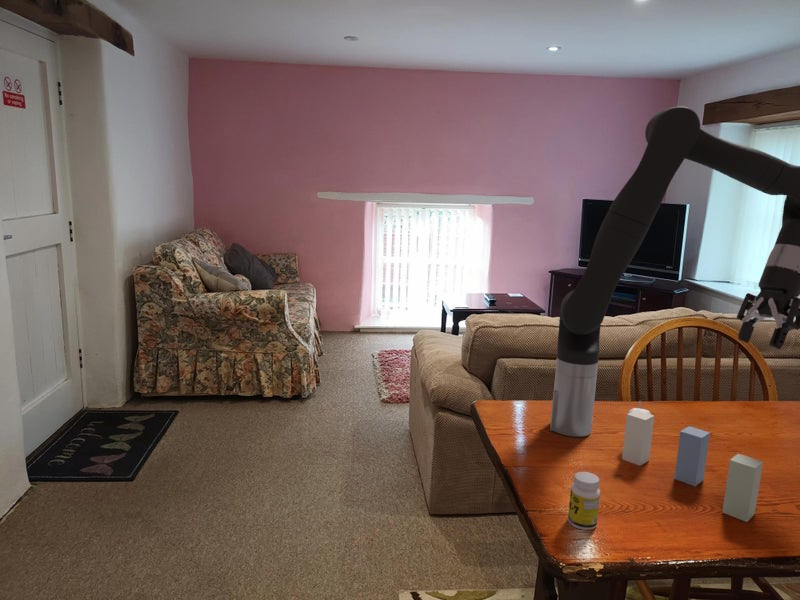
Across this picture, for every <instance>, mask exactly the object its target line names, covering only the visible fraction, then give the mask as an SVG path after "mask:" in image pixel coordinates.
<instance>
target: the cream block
mask: <svg viewBox="0 0 800 600" xmlns="http://www.w3.org/2000/svg"><path fill="white" fill-rule="evenodd" d="M654 422H655V415H654V414H648V413H644V412H641V411H638V410H635V411H633V412H631V413H629V412H628V413H627V414H626V419H625V427H624V428H625V429H624V437H623V448H622V454H621V460H623V461H626V462H629V463H631V464H634V465H637V466H639V467H641V466H642V465H644V464H646V463H647V462H649V461H650V456H651V448H652V446H651V445H652V439H653V431H654Z"/></svg>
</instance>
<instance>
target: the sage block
mask: <svg viewBox="0 0 800 600" xmlns="http://www.w3.org/2000/svg"><path fill="white" fill-rule="evenodd" d="M763 464H764V461H763V460H759V459H755V458H753V457H751V456H750V457H749V456H747V455H744V454H740V453H737V454H736V455H734V456H733V457H732V458H731V459H730V460H729V465H728V472H727V477H726V478H727V479H726V485H725V493H724V498H723V499H724V500H723V505H722V511H721V512H722V513H723V514H725V515H728V516H730V517H732V518H735V519H738V520H741V521H743V522H745V523H747V522H749V520H751V519H752V517H754V515H755V514H756V509H757V504H758V503H757V502H758V495H759V490H760V483H761V478H762V477H761V476H762V469H763Z"/></svg>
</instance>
